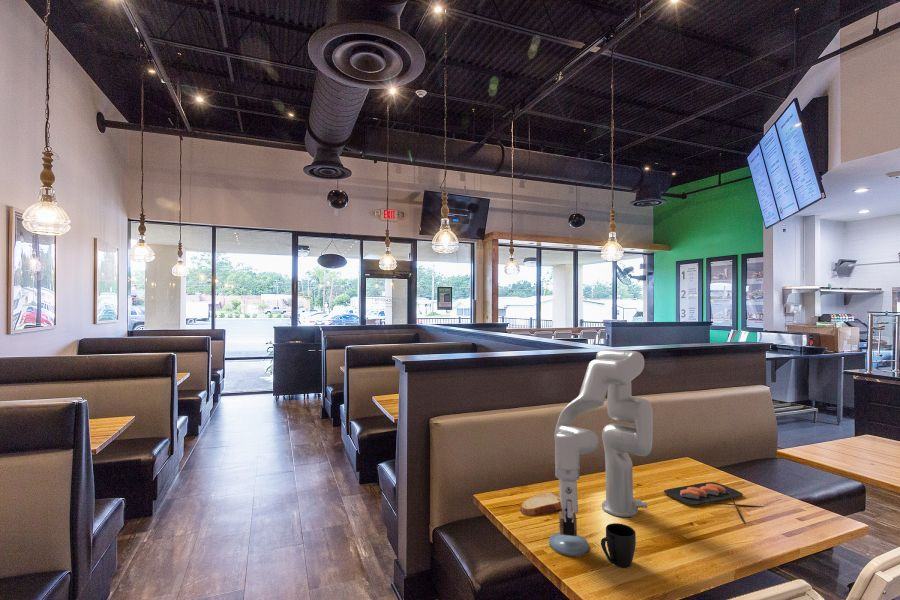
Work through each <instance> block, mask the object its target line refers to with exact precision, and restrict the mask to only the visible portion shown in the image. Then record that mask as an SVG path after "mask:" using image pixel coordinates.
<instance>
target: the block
mask: <svg viewBox="0 0 900 600" xmlns="http://www.w3.org/2000/svg"><path fill="white" fill-rule="evenodd" d="M558 511H559V510H558ZM566 515H567V513H566ZM576 515H577V514H576V513H574V512H573V522H574V535H568V536H577V535H578V533H577V529H578V528H577V527H578V526H577V525H578V520H577V517H576ZM563 521H564V512H563V511H559V512H558V527H559V532H560V535H564V533H563Z"/></svg>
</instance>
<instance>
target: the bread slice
mask: <svg viewBox="0 0 900 600" xmlns="http://www.w3.org/2000/svg"><path fill="white" fill-rule="evenodd" d="M559 510H562V508H561V502H560V494H557V493H555V492H551V491H550V492H545V493H539V494H536V495H533V496H530V497H529V498H527V499H525V500H524V501H523V502H522V503H521V505H520V507H519V511H520V514H522V515H524V516H527V517H533V516H538V515H543V514H548V513H553V512H556V511H559Z"/></svg>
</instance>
